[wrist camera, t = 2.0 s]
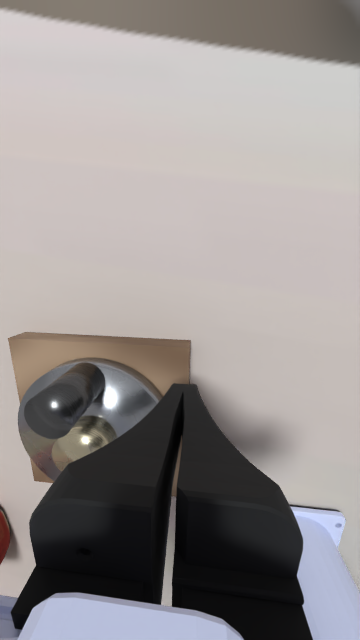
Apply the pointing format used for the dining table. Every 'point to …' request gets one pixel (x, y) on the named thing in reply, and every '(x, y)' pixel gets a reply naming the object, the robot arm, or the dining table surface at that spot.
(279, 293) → the dining table surface
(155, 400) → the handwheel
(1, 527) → the snack package
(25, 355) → the walnut base
